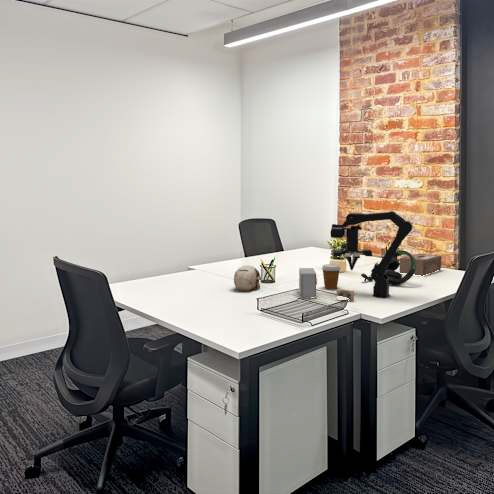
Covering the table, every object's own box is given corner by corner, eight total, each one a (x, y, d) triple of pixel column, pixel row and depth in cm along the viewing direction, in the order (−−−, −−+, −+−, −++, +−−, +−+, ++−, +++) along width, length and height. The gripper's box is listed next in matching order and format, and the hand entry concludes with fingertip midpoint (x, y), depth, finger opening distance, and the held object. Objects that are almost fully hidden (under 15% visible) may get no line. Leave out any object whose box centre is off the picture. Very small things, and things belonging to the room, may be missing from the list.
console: (314, 291, 266) (314, 268, 265) (317, 298, 250) (317, 273, 249) (299, 291, 267) (299, 268, 265) (301, 298, 251) (301, 273, 249)
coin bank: (257, 284, 285) (256, 260, 281) (266, 294, 268) (266, 269, 265) (229, 287, 281) (228, 263, 277) (237, 297, 264) (236, 272, 261)
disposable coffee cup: (325, 290, 268) (325, 267, 267) (319, 287, 277) (319, 264, 276) (342, 289, 270) (343, 266, 268) (336, 286, 279) (336, 263, 278)
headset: (376, 297, 291) (422, 278, 272) (361, 289, 283) (406, 269, 265) (372, 269, 300) (416, 249, 282) (357, 261, 293) (401, 239, 274)
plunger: (316, 283, 256) (316, 277, 255) (317, 285, 253) (317, 278, 252) (304, 283, 256) (304, 277, 256) (305, 285, 253) (305, 278, 252)
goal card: (353, 301, 244) (353, 290, 243) (352, 301, 242) (352, 291, 242) (336, 299, 247) (337, 289, 247) (336, 300, 246) (336, 289, 245)
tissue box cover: (422, 277, 304) (423, 260, 303) (399, 274, 314) (399, 257, 313) (440, 271, 323) (441, 255, 322) (418, 269, 333) (418, 253, 331)
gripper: (368, 236, 263) (367, 267, 265) (330, 236, 264) (330, 267, 266) (372, 239, 252) (372, 271, 254) (333, 239, 253) (333, 271, 255)
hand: (351, 270), depth 258 cm, fingers closed
